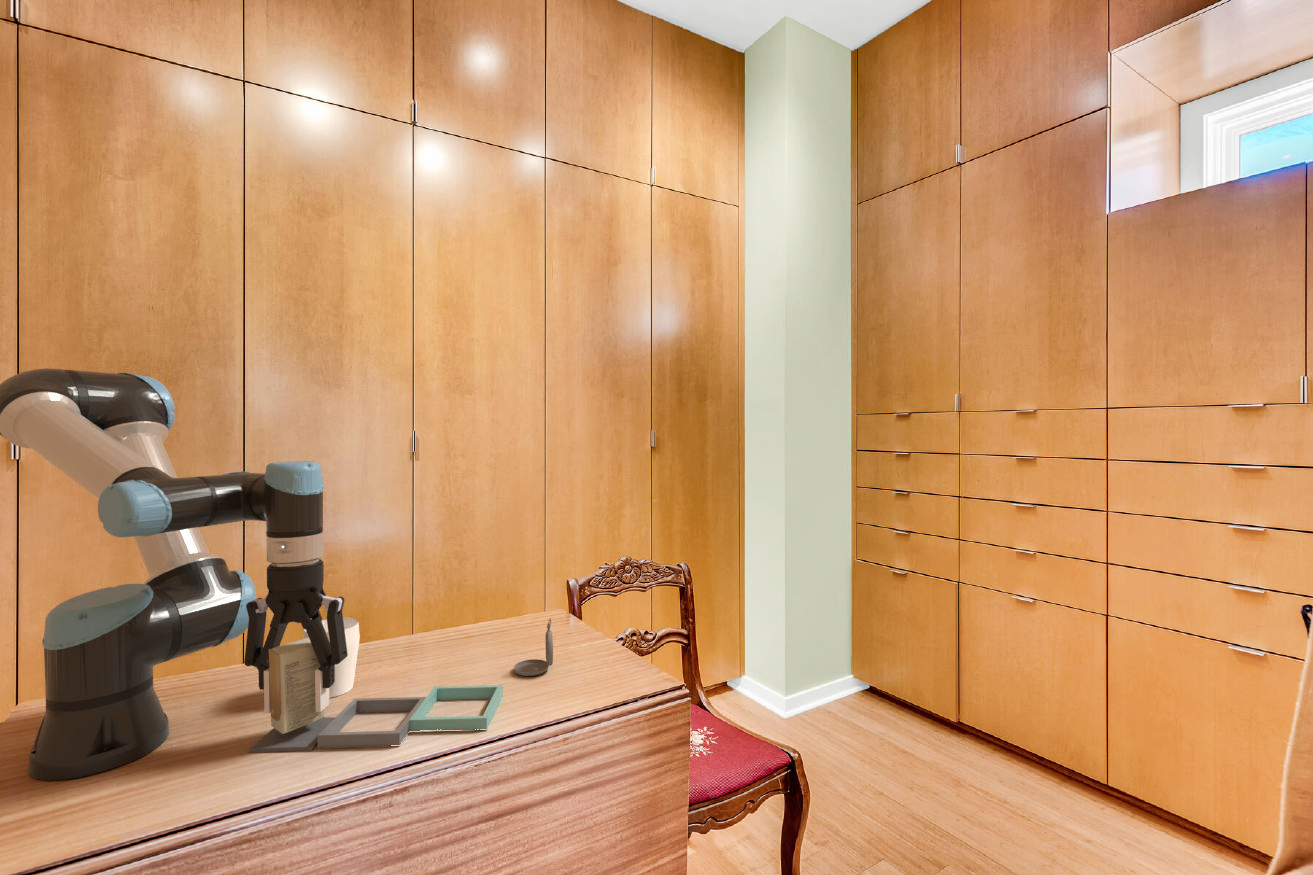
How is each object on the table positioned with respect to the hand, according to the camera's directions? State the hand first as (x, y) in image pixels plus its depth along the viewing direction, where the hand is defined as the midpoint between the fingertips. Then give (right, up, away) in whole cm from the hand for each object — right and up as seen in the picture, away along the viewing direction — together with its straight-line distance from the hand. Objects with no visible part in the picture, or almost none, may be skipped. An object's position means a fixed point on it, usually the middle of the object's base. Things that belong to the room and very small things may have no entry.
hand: (297, 708), depth 92 cm
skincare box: (0, -2, 0) cm, 2 cm away
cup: (-3, -4, +16) cm, 17 cm away
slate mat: (0, -4, 0) cm, 4 cm away
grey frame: (+11, -4, +3) cm, 12 cm away
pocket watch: (+32, -4, +25) cm, 41 cm away
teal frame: (+23, -4, +7) cm, 24 cm away
